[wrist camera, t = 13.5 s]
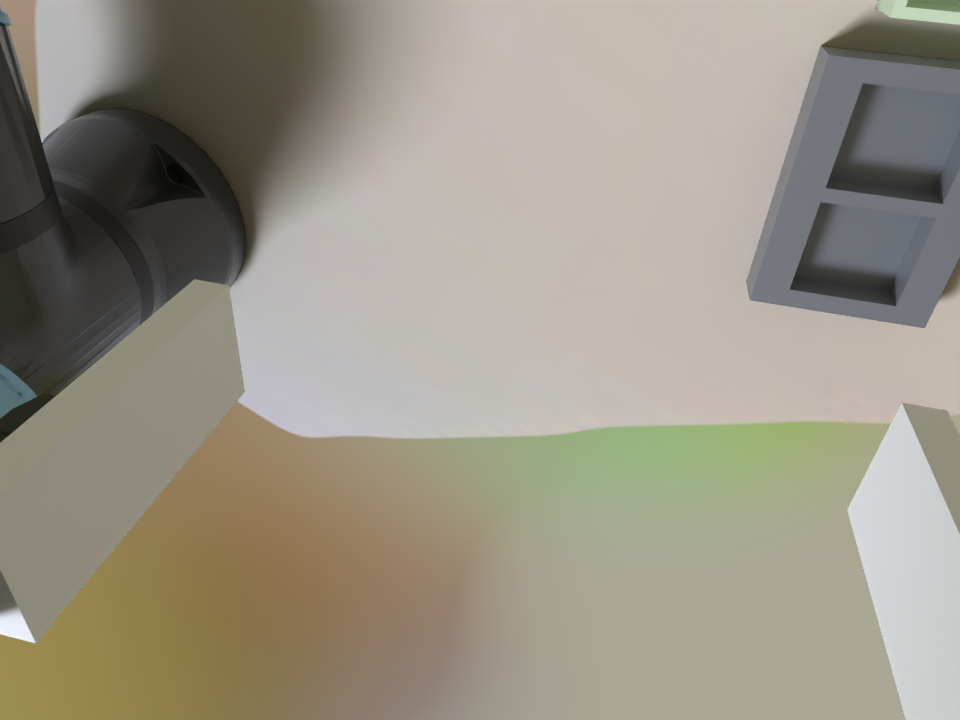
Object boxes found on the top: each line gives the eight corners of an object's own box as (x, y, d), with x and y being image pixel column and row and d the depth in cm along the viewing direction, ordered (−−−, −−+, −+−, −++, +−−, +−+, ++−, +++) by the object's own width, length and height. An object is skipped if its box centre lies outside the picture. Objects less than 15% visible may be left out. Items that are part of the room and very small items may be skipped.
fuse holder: (746, 282, 46) (749, 300, 44) (820, 45, 38) (828, 55, 36) (913, 308, 44) (924, 328, 42) (1027, 68, 36) (1047, 79, 34)
